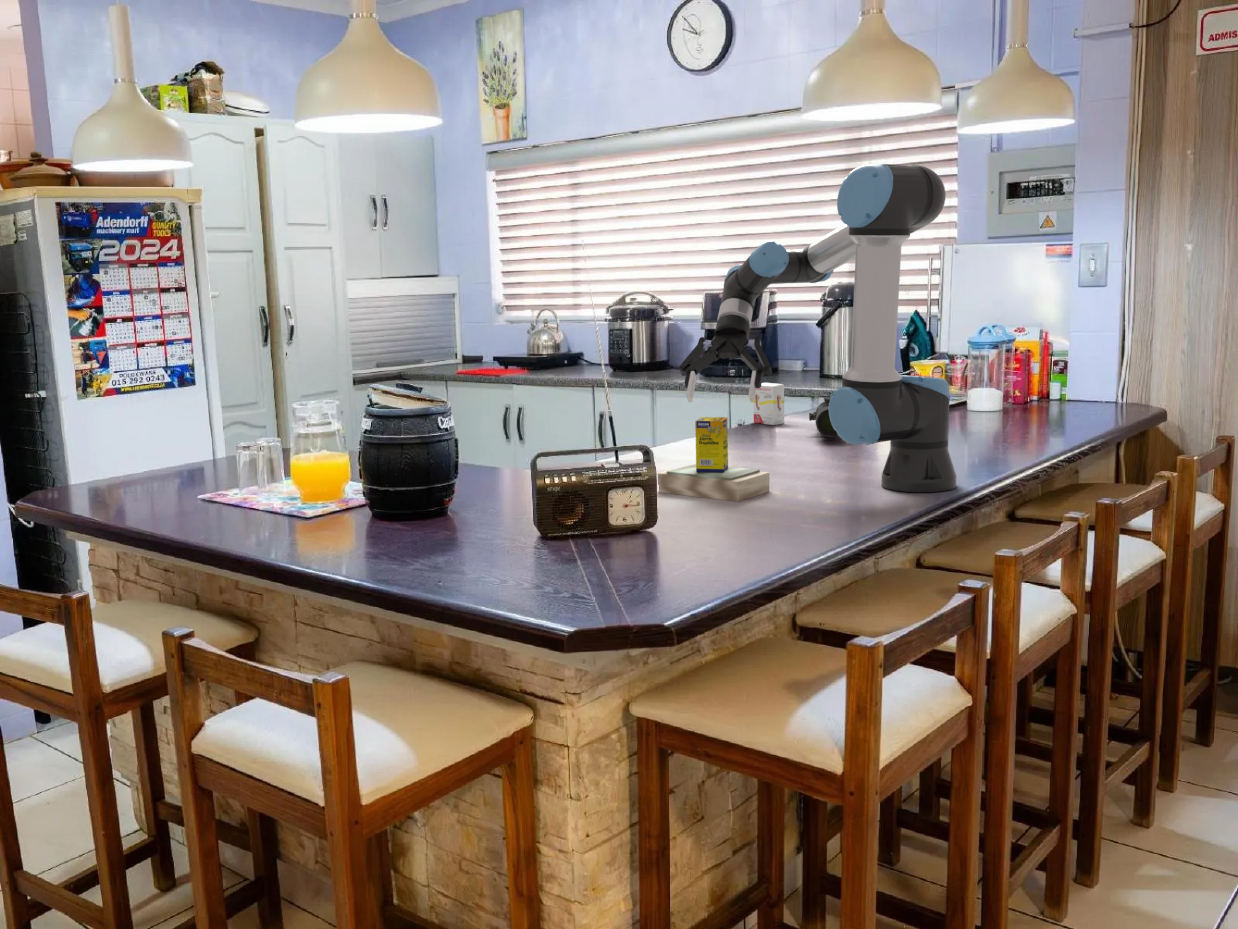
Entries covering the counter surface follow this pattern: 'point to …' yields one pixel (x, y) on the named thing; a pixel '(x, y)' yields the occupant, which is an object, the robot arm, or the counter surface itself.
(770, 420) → the ink box
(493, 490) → the counter surface
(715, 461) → the supplement box
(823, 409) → the rifle scope
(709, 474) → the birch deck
